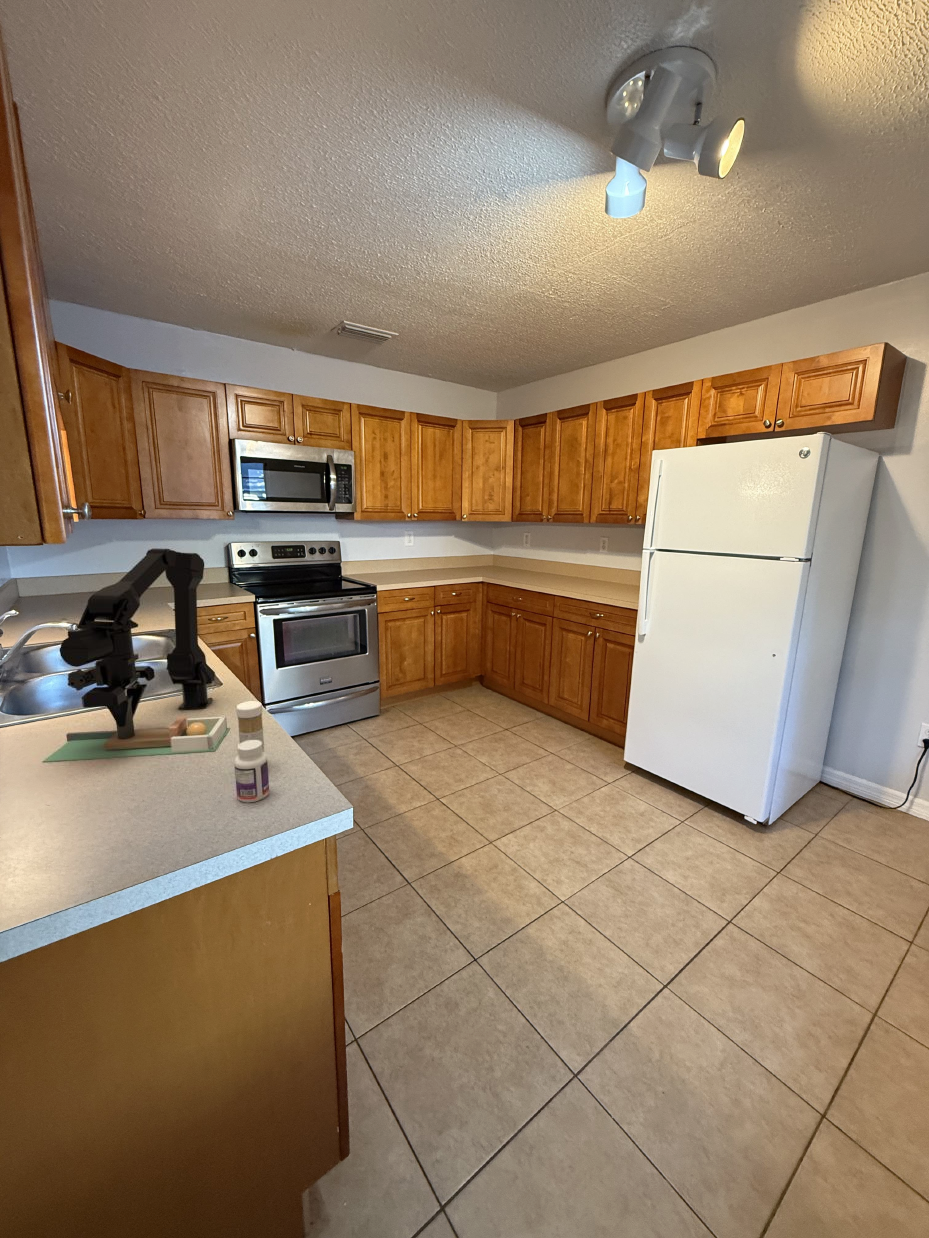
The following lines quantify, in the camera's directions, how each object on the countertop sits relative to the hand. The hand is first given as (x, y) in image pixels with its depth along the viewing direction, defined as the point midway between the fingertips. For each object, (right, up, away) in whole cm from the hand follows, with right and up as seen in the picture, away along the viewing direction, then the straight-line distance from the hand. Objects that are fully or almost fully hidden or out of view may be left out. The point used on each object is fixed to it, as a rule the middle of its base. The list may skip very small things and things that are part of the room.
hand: (125, 723), depth 107 cm
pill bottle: (+35, -9, -17) cm, 40 cm away
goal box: (+14, -5, +4) cm, 15 cm away
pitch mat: (+3, -5, +2) cm, 6 cm away
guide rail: (-3, -4, +5) cm, 7 cm away
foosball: (+13, -2, +3) cm, 14 cm away
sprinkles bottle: (+31, -8, -8) cm, 33 cm away
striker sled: (+4, -5, +2) cm, 6 cm away
